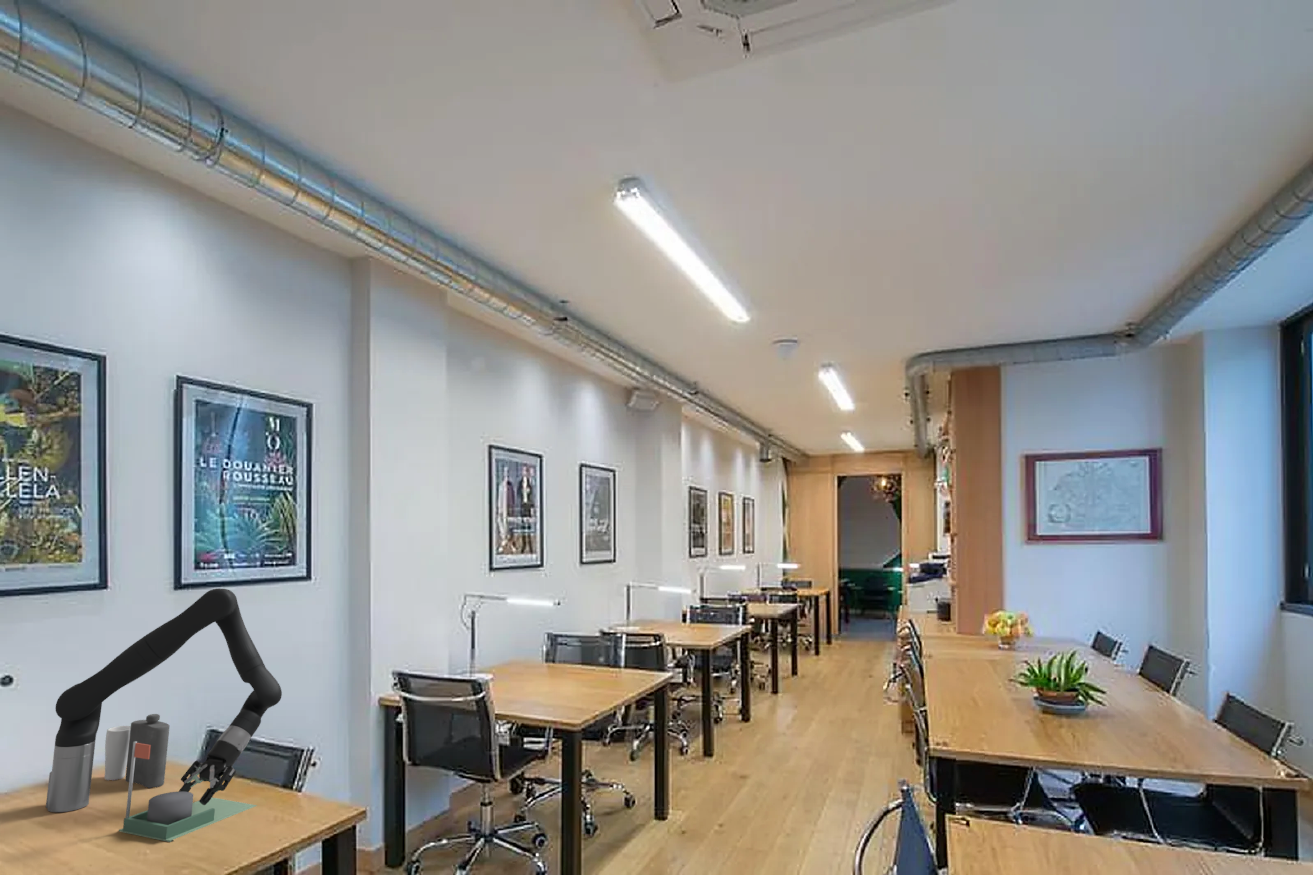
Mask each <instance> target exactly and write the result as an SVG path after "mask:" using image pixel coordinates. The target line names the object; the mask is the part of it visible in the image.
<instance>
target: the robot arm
mask: <svg viewBox="0 0 1313 875" xmlns="http://www.w3.org/2000/svg"><path fill="white" fill-rule="evenodd" d="M213 623H216V625H217V626H218V628H219V629H220V631H221V633H222V634H223V637H224V639H225V641H226V646H227V648H228V651H229V654H230V658H231V661H232V663H233V665H234V667H235V669H236V671H237V672H238V675H239V676H240V678H241V681H243V682H244V683H246V684H249V685H250V686H251V688H252V689H253V690H252V691H251V693H250V694H249V695H248V696H247V698H246V700H245V701H244V702H243V705H242V707H241V708H240V711H239V713H238V714H237V715H236V717H234V719H233V720H232V721H231V722H230V724H229V726H228V727H227V728H226V729H225V730H224V731H223V732H222V733H221V735H220V736H219V738H218V739H217V741H216V742H215V743H214V745H213V746H212V747H211V749H210V750H209V751H208V753H207V755H206V756H207V757H206V760H205V761H203V762H200V761H199V760H195V761H193V763H192V764H191V765H190V767H189V768H188V769H187V770H186V771H185V773H184V774H183V776H181V777H180V781H181V782H182V783H183V785H182V786H181V787H180V789H179V791H178V792H190V791H191V789H192V788H193V787H194V786H196V785H197V784H201V783H202V782H208V783H209V787H208V788H206V790H205V792H204V793H203V794H202V796H201V797H200V799H199V800H198V801H199V802H200V803H201V804H202V805H206V804H207V803H208V802H209V801H210V799H211V798H212V797H213V798H214V795H215V794H216V793H217V792H219V791H221V792H224V791H225V790H226V788H227V786H228V785H229V784H230V782H231V781H232V779H233V777H234V776H235V774H236V773H237V770H235V768H234V767H233V766H234V764H235V763H236V761H237V760H238V759H239V758H240V756H241V754H242V753H243V752H244V750H245V749H246V747H247V746H248V744H249V741H250V740H251V739H252V737H253V735H254V734H255V733H256V732H257V730H258V728H259V727H260V725H261V723H262V718H263V716H264V714H265V713H266V712H267V711H268V709H270V708H271V707H274V706H276V705H278V703H279V702H280V701H281V699H282V696H283V694H282V693H283V692H282V687H281V684H280V683H279V682H278V680H277V679H276V677H274V675H272V673H271V672H270V671H269V669H267V667H266V665H265V663H264V661H263V659H262V657H261V655H260V653H259V651H258V649H257V648H256V646H255V643H254V642H253V640H252V638H251V636H250V634H249V631H248V629H247V628H246V626H245V623H244V619H243V617H242V613H241V610H240V606H239V603H238V598H237V596H236V594H235V593H234V592H233V591H232V590H230V589H227V588H218V587H217V588H214V589H210V590H208V591H207V592H204V594H203V595H201V596H200V597H199V598H198V599H197V600H196V601H194V603H192V604H191V605H190V606H188V607H187V608H185V609H184V611H182V612H181V613H179V614H178V615H176V616H175V617H174V618H171V619H169V620H168V621H166V622H165V623H163V624H162V625H160V626H158V627H156V628H154V629H153V630H152V631H150V632H149V633H147V634H146V635H144V636H143V637H141V638H139V639H138V640H137V641H136V642H134V643H133V644H131V645H129V647H127V648H126V649H125V650H124V651H122V652H121V653H120V654H119V655H117V656H116V657H115V658H114V659H112V660H111V661H110V662H109V663H107V664H106V666H104V667H103V668H102V669H100V670H99V671H97V672H96V673H95V674H93V675H91V676H89V677H88V678H86V679H85V680H83V681H81V682H80V683H76V684H74V685H73V686H71V687H69V688H67V689H66V690H64V691H63V692H62V693H61V694H60V696H58V698H57V701H56V704H55V713H56V715H57V716H58V717H59V718H60V719H61V720H60V724H59V725H60V726H59V728H58V731H57V732H56V735H55V740H54V749H53V750H54V751H53V759H52V766H51V767H52V768H51V771H50V772H49V775H48V776H49V777H48V783H47V792H46V802H45V809H47V811H48V812H51V813H66V812H71V811H76V810H79V809H83V808H85V807H87V806H88V805H89V803H90V793H91V785H92V778H93V777H92V775H93V767H94V766H93V765H94V757H95V749H96V748H95V747H96V738H97V733H98V730H99V727H100V721H101V713H102V706H103V702H104V701H105V700H107V699H108V698H109V697H111V696H112V695H113V694H115V693H116V692H117V691H119V690H120V689H122V688H123V687H125V686H127V685H129V684H131V683H132V682H135V681H136V680H138V679H139V678H141V677H143V676H144V675H146V674H148V673H149V672H151V671H152V670H154V669H155V668H157V667H158V666H159V665H161V664H162V663H163V662H165V661H167V660H168V659H169V658H170V657H171V656H173V655H174V654H176V652H177V651H179V650H180V649H181V648H182V647H183V646H184V645H185V644H186V643H187V642H188V641H189V640H190V639H191V638H192V637H194V636H195V635H196V634H197V633H199V632H200V631H202V630H204V629H205V628H208V626H210V625H211V624H213Z"/></svg>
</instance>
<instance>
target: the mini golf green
mask: <svg viewBox="0 0 1313 875" xmlns="http://www.w3.org/2000/svg"><path fill="white" fill-rule="evenodd" d="M150 747H151V745H147V744H141V743H137V741H135V742H133V750H132V760H131V769H130V779H129V782H128V790H127V801H126V808H125V809H126V812H125V817H124V818H123V827H122V828H120V829H118V832H120V833H123V834H124V833H125V834H129V835H133V836H138V837H145V838H147V839H154V840H158V841H164V842H168V843H172V842H174V840H176V839H178V838H180V837H183V836H186V835H188V834H190V833H193V832H195V831H198V830H200V829H203V828H206V827H208V826H210V825H212V824H215V823H217V822H221V821H222V820H225V819H228V818H230V817H233V816H235V815H237V814H240V813H243V812H245V811H247V810H249V809H252V808H255V807H258V805H257V804H252V803H251V804H250V803H246V802H240V801H234V800H229V799H223V798H218V797H217V798H216V797H214V796H213V797H212V798H211V799H210V801H209V802H208V803H207V804H206V805H202V804H201V803H200V802H199V800H197V801H194V802H193V804H192V815H191V816H190V817H188V818H185V819H182V820H180V821H177V822H174V823H172V824H169V825H165V824H160V823H155V822H150V821H147V815H148V809H147V810H144V811H141V812H138V813H136V814H133V815H131V814H130V813H131V803H132V795H133V784H134V783H133V776H134V766H135V757H137V758H143V759H149V757H150Z"/></svg>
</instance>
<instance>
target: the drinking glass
mask: <svg viewBox="0 0 1313 875" xmlns="http://www.w3.org/2000/svg"><path fill="white" fill-rule="evenodd" d="M130 729H131V725H118V726H113V727H110V728H108V729H106V734H105V740H104V741H105V743H104V744H105V745H104V750H105V751H104V752H105V753H104V758H105V760H104V776H103V777H104V780H105V781H109V780H112V781H118V779H119V780H122V779H124V778H126V768H127V759H128V749H129V739H130Z"/></svg>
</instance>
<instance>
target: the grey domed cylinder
mask: <svg viewBox="0 0 1313 875" xmlns="http://www.w3.org/2000/svg"><path fill="white" fill-rule="evenodd" d="M193 801H194V793H192V792H190V791H189V792H179V791H169V792H164V793H159V794H158V795H155V796H152V797H151V798H149V800H148V806H147V810H148V815H147V821H150V822H155V823H160V824H165V825H169V824H172V823H174V822H177V821H180V820H182V819H185V818H188V817H190V816H191V815H192V804H193V803H194V802H193Z"/></svg>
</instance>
